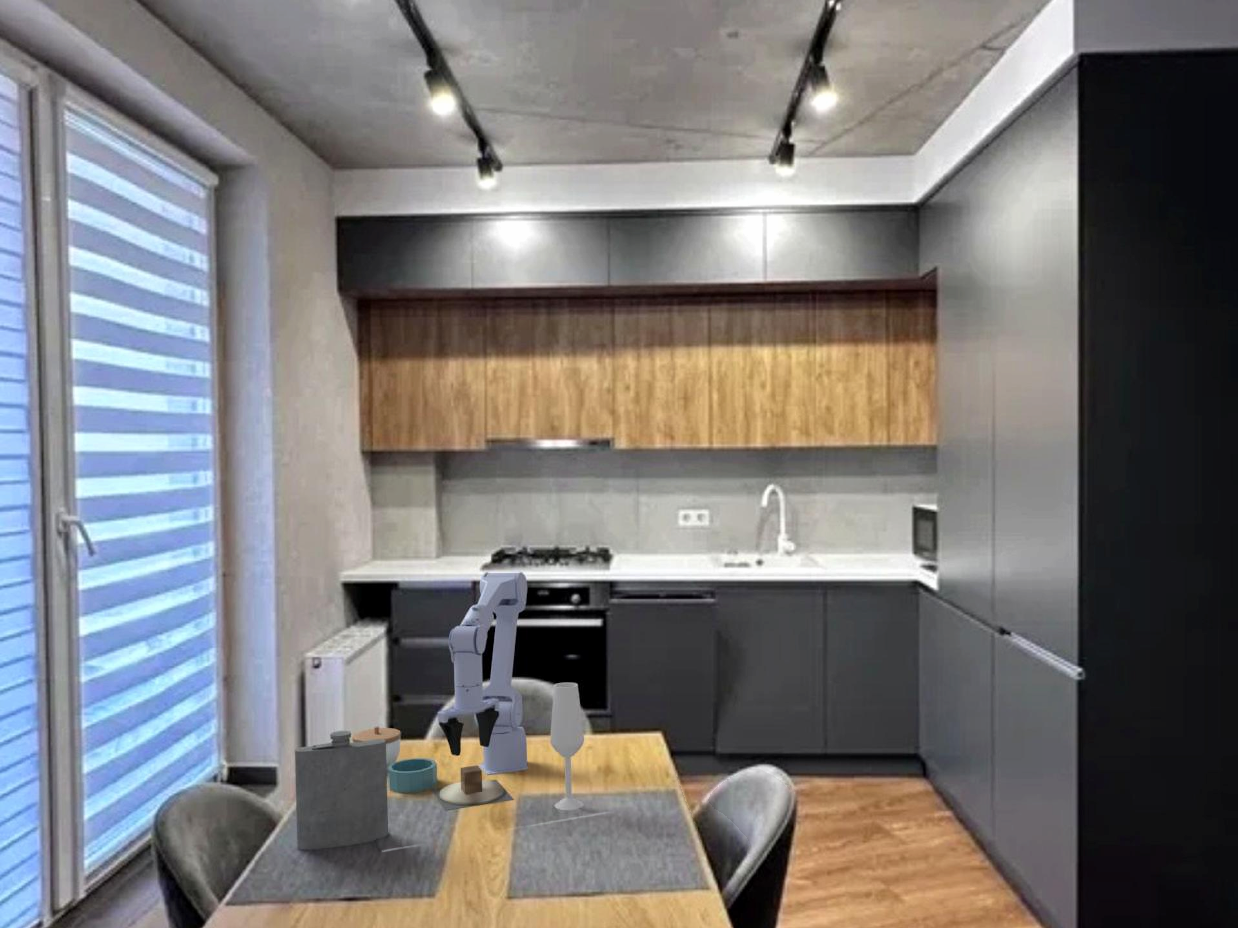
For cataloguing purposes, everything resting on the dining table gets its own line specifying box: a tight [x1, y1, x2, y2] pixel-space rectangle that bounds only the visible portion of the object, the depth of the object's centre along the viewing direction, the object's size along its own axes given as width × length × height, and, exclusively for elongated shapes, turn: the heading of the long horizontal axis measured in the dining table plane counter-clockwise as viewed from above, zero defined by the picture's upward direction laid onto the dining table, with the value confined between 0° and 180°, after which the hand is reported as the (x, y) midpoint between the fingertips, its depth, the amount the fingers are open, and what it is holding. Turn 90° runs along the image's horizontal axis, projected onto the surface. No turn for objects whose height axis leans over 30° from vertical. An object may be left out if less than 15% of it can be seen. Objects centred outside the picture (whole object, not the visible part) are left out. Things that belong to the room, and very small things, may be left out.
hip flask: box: [294, 730, 389, 851], centre depth 172 cm, size 16×4×20 cm, turn 107°
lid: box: [440, 764, 504, 805], centre depth 195 cm, size 13×13×5 cm
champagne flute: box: [549, 682, 585, 811], centre depth 187 cm, size 7×7×24 cm
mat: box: [430, 779, 515, 812], centre depth 195 cm, size 14×14×1 cm
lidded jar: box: [352, 725, 402, 771], centre depth 216 cm, size 11×11×9 cm
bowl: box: [387, 757, 438, 794], centre depth 203 cm, size 10×10×4 cm
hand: (470, 750), depth 195 cm, fingers open, 7 cm apart
